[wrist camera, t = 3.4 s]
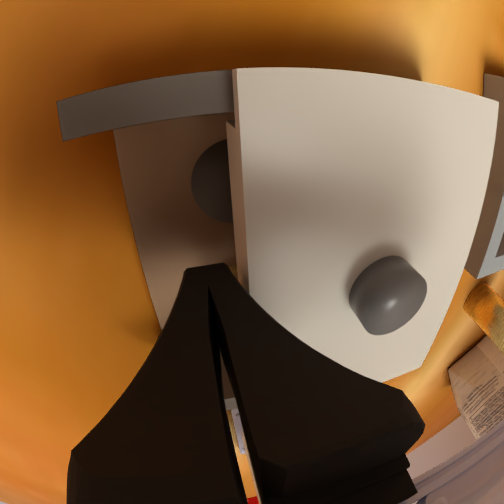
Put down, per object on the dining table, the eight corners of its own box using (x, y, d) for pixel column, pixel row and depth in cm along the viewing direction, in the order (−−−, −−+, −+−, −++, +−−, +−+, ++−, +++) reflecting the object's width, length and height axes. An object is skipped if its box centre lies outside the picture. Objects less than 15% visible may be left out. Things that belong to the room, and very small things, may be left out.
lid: (400, 339, 15) (429, 380, 13) (247, 379, 14) (263, 437, 11) (455, 90, 9) (521, 109, 6) (222, 71, 7) (246, 66, 5)
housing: (387, 303, 18) (425, 353, 14) (162, 348, 16) (165, 418, 12) (423, 84, 11) (496, 101, 8) (101, 92, 9) (56, 101, 5)
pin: (479, 306, 22) (518, 349, 17) (459, 315, 22) (500, 363, 17) (491, 279, 20) (535, 323, 15) (471, 287, 20) (517, 335, 15)
